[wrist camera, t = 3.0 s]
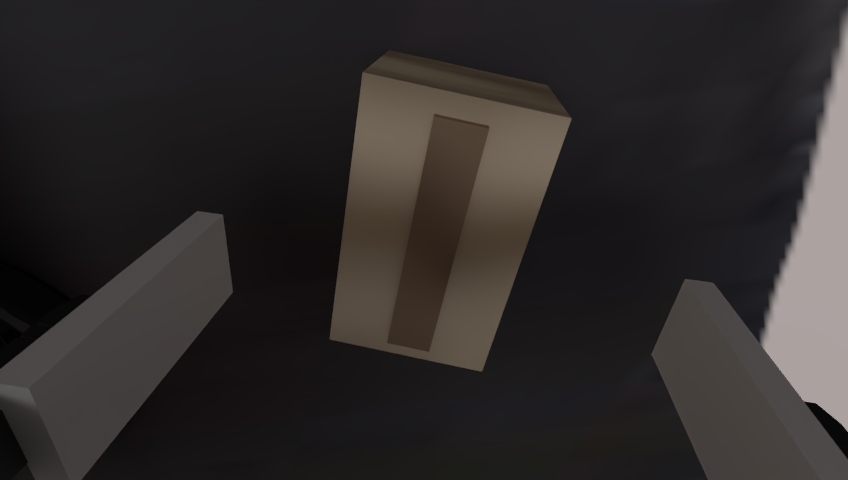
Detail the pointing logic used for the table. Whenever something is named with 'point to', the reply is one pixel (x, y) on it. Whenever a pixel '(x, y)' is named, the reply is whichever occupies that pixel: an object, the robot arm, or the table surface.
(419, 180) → the tan striped block
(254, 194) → the table surface
